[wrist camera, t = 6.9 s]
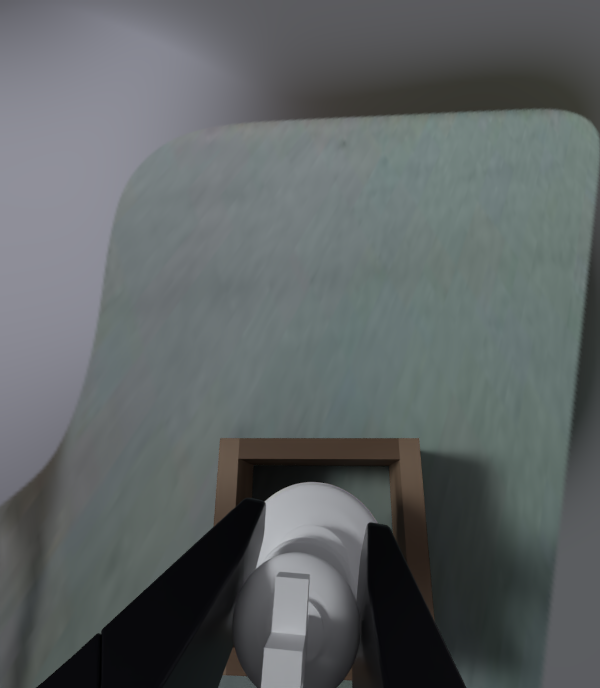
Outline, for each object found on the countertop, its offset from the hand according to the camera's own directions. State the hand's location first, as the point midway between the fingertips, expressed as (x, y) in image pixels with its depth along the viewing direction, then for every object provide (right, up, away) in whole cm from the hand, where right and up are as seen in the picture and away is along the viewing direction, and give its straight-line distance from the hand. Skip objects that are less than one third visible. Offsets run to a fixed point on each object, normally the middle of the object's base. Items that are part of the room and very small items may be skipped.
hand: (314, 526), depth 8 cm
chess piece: (0, -4, +6) cm, 7 cm away
